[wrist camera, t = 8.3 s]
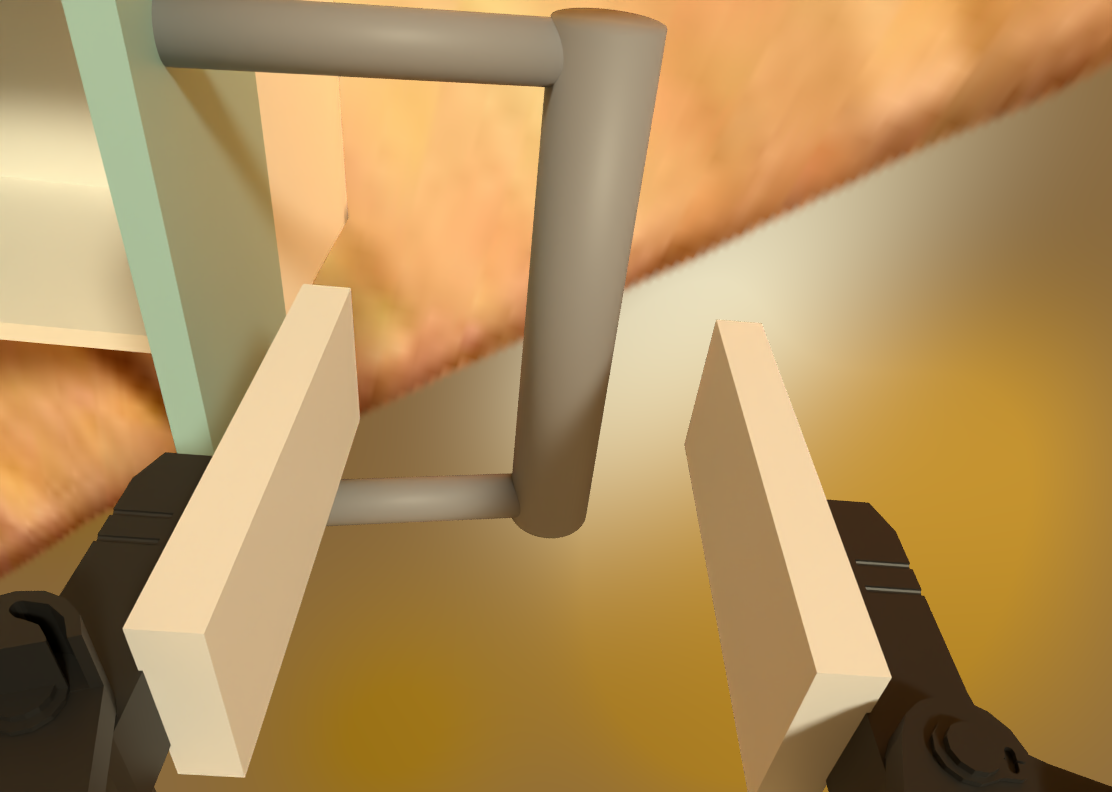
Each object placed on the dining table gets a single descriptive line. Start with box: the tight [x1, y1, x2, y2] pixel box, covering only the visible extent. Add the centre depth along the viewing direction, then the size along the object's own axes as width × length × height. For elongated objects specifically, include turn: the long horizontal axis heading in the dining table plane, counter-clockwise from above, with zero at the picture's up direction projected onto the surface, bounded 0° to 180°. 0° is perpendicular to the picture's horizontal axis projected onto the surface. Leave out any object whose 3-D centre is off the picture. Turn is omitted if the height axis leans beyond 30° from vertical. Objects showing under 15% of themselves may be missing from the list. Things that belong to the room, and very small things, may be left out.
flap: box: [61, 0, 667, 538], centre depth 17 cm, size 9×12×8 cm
